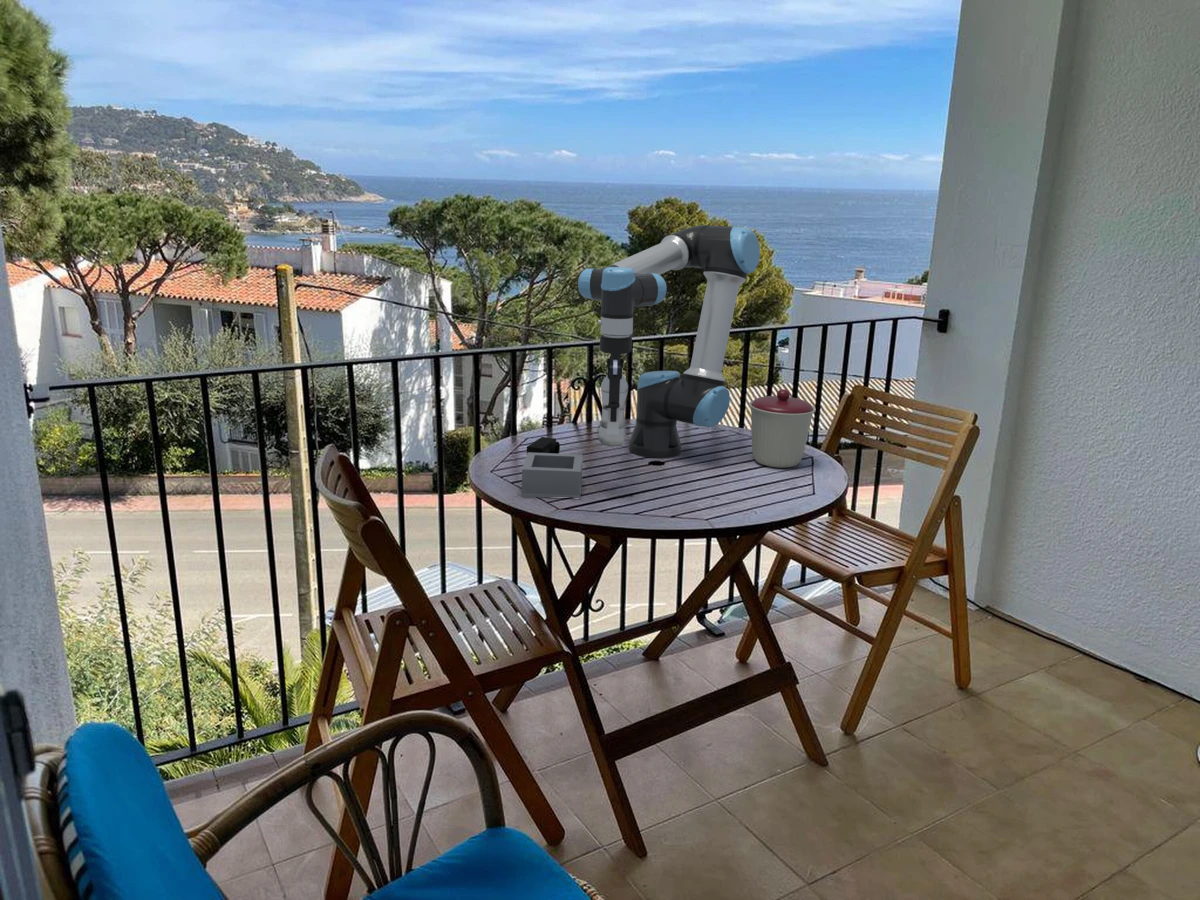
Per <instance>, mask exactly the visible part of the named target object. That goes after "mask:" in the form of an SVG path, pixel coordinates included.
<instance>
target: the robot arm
mask: <svg viewBox="0 0 1200 900" xmlns="http://www.w3.org/2000/svg"><path fill="white" fill-rule="evenodd" d="M760 249H761V248H760V243H759V241H758V237H757V235H756V234H755V232H754V231H753V230H752V229H750V228H747V227H740V226H735V225H734V226H732V225H730V226H727V225H709V224H708V225H707V224H701V225H695V226H690V227H688V228H684V229H680V230H679V231H677V232H673V233H672V234H668V235H666V236H665V237H663V238H662V240H661V241H660V243H658V244H656V245H653V246H650V247H649V248H647V249H645V250H642V251H639V252H637V253H635V254H632V255H631V256H628V257H626V258H623V259H621V260H619V261H617V262H615V263H612V264H610V265H607V266H605V267H603V268H595V267H593V268H585V269H584V270H583V271H582V272H581V273H580V275H579V277H578V278H577V279H578V281H577V287H578V292H579V294H580V295H581V297H583V298H585V299H590V300H593V301H600V302H601V303H600V305H601V308H600V319H599V320H597V324H598V325H600V331H599V332H600V334H601V335H600V337H599V351H600V352H602V353H604V354H610V355H609V358H606V369H607V368H608V372H607V375H608V376H607V375H606V376H607V377H608V379H609V404H608V405H605V408H608V420H607V434H613V435H618V431H619V407H620V404H619V395H620V380H621V379H622V375H623V373H622V368H623V369H624V365H625V364H624V363H625V362H624V358H621V357H622V356H621V355H622V354H623V355H624V354H629V353H632V350H633V349H632V348H633V338H632V336H631V335H632V334H633V332H634V331H633V328H634V327H633V326H634V308H640V307H647V306H648V307H650V306H651V307H652V306H654V305H657V304H659V303H661V302H662V301H663V300H664V299H665V297H666V295H667V282H666V281H665V279H664V278H663V277H662V274H664V273H667V272H669V271H671V270H672V271H679V270H682V269H684V268H695V269H703V273H702V274H703V276H704V277H705V278H706V280H707V281H706V282H707V283H706V288H705V293H704V297H703V302H702V307H701V312H700V317H699V322H698V326H697V327H698V328H697V331H696V337H695V340H694V341H695V342H694V346H693V352H692V357H691V362H690V366H689V368H688V369H686V370H685V371H684V372H683V373H682V377H681V375H680V374H681V373H680V372H679V371H677V370H657V371H648V372H643V373H642V374H640V375H639V376H638V377H639V378H638V383H637V387H636V390H637V395H636V418H635V420H636V421H635V426H634V428H633V430H632V432H631V435H630V439H629V440H628V451H629V452H630V453H632V454H634V455H637V456H641V457H646V458H658V459H659V458H660V459H661V458H671V457H676V456H678V455H679V454H681V453H682V441H681V437H680V434H679V431H678V427H677V426H678V425H677V422H681V423H685V424H690V425H694V426H696V427H704V428H705V427H706V428H712V427H716V426H717V425H718V424H719V423H720V422H721V421H723V419H725V417H726V414H727V413H728V409H729V408H730V402H731V396H730V395H731V393H730V391H729V390H728V388H726V387H725V384H726V379H725V378H724V376H723V375H722V371H723V367H724V360H725V356H726V351H727V345H728V342H729V337H730V331H731V328H732V322H733V317H734V312H735V307H736V303H737V298H738V293H739V288H740V286H742V284H745V283H746V281H747V277H748V275H749V274H752V273H754V272H755V271H756V269H757V267H758V266H759V263H760V256H761V255H760V254H761V252H760V251H761V250H760Z"/></svg>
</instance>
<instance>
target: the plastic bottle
mask: <svg viewBox="0 0 1200 900" xmlns="http://www.w3.org/2000/svg"><path fill="white" fill-rule="evenodd" d="M606 373H608V368H607V367H606ZM623 373H624V367H623V368H622V379H621V380H620V395H619V404H620V407H619V431H618V435H613V434H607V420H608V408H605V405H608V404H609V379H608V377H607V376H608V374H607V375H605V377H604V379H603V380H602V382H601V384H600V390H601V391H600V392H601V393H600V394H601V407H602V409H601V419H600V420H601V421H600V427H599V431H598V441H599V442H600V444H601V445H602V446H605V447H620V446H623V444H624V443H625V442H626V439H627V431H626V422H625V421H626V419H625V417H626V416H625V412H626V403H627V398H628V393H629V384H628V381H627V379H626V378H625V376H624V375H623Z"/></svg>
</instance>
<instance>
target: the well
mask: <svg viewBox="0 0 1200 900" xmlns="http://www.w3.org/2000/svg"><path fill="white" fill-rule="evenodd" d="M583 457H584V455H583V454H580V453H579V454H576V453H575V454H574V453H573V454H572V453H559V454H555V453H531V452H528V453H527V452H526V456H525V460H524V462H523V465H522V469H521V498H533V497H535V498H536V497H538V498H540V497H543V498H542V499H545V498H544V497H573V498H580V499H581V494H580V493H581V492H582V485H581V484H583V466H584V465H583V460H584V458H583ZM540 499H541V498H540Z"/></svg>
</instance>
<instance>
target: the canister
mask: <svg viewBox="0 0 1200 900" xmlns="http://www.w3.org/2000/svg"><path fill="white" fill-rule="evenodd" d="M790 395H791V393H790V391H789V390H787V389H785V388H784V389H782V388H781V389H779V390H778V391H777V393H776V395H764V396H760V397H757V398H755V399H753V400H751V401H749V403H748V406H749V408H750V410H751V411H750V413H751V414H750V420H751V424H750V425H751V427H750V429H751V448H752V449H751V452H752V456H753V459H754V460H755V461H756V462H757V463H758V464H760V465H763V466H766V467H770V468H777V469H778V468H779V469H784V468H785V469H786V468H793V467H795V466H797V465H799V464H800V462H801V460H802V458H803V456H804V452H805V448H806V446H807V445H806V444H807V440H808V438H809V437H808V436H809V432H810V427H811V423H812V419H813V414H814V413H815V412H816V411H817V410H816V407H815V406H813V405H812V404H811V403H810V402H809V401H806V400H804V399H801V398H796V397H791V396H790Z"/></svg>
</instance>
